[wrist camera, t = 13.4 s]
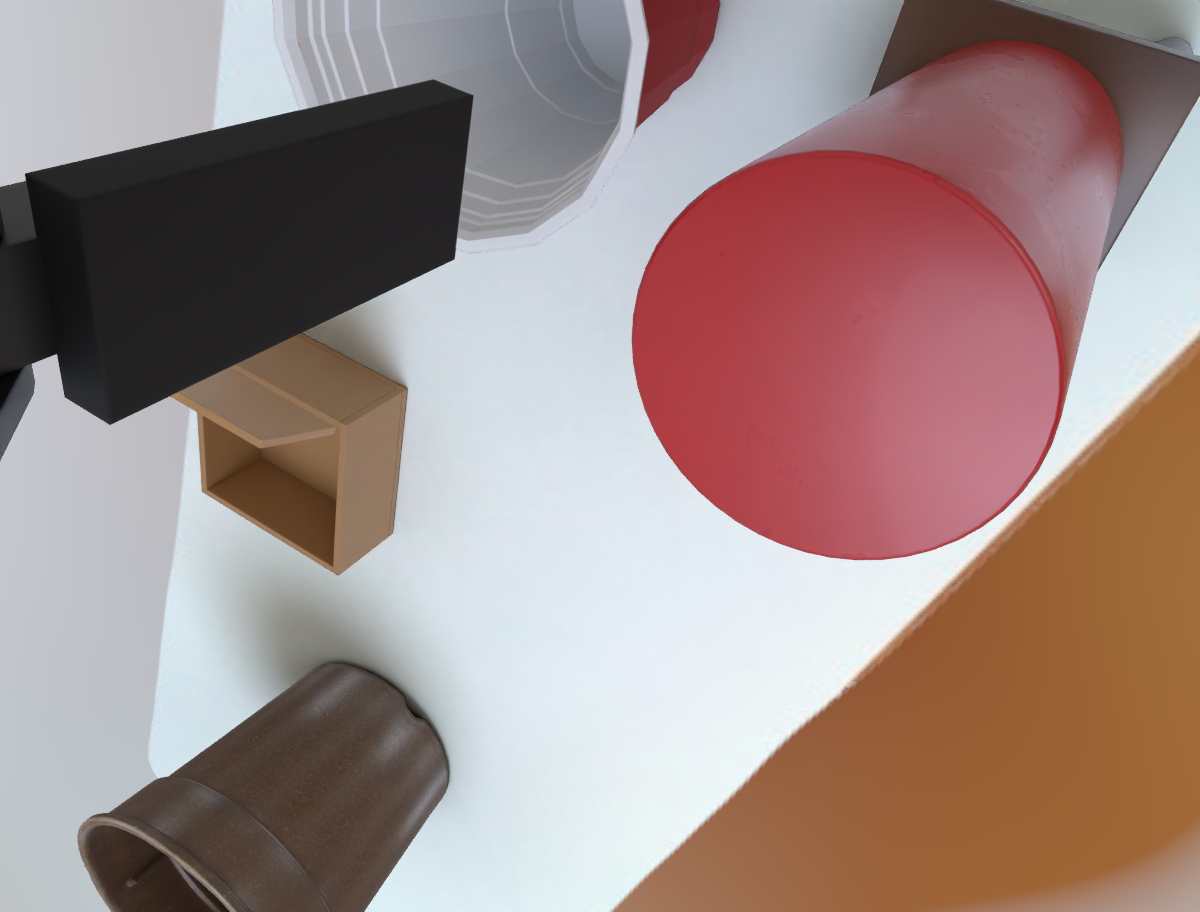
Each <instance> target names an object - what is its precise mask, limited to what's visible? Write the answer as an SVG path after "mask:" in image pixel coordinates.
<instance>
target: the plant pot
mask: <svg viewBox="0 0 1200 912" xmlns="http://www.w3.org/2000/svg"><path fill="white" fill-rule="evenodd" d="M447 786H448V767H447V762H446V759H445V755H444V752H443V750H442V747H441V745H440V743H439V741H438V739H437V737H436V735H435V734H434V732H433V730H432V729H431V727H430V726H429V724H428V723H427V722H426V720H424V719H420V718H416V717H415V716H413V715H412V713H411V712H410V711H409V709H408V708H407V706H406V703H405V698H404V696H403V695H402V694H401V693H400V692H398V691H397V690H396V689H395V688H393V687H392V686H391V685H389V684H388V683H386V682H385V681H383V680H382V679H380V678H378V677H377V676H375V675H373V674H371V673H369V672H367V671H365V670H363V669H360V668H357V667H354V666H351V665H347V664H340V663H329V664H323V665H321V666H319V667H317V668H316V669H314V670H313V671H311V672H309V673H308V674H306V675H305V676H304V677H303V678H301V679H300V680H299V681H298V682H296V683H295V684H294V685H292V686H291V687H290V688H288V689H287V690H286V691H284V692H283V693H281V694H280V695H279V696H277V697H276V698H275V699H273V700H272V701H271V702H269V703H268V704H267V705H265V706H264V707H262V708H261V709H260V710H258V711H257V712H256V713H254V714H253V715H252V716H250V717H249V718H247V719H246V720H245V721H243V722H242V723H241V724H239V725H238V726H237V727H235V728H234V729H233V730H231V731H230V732H229V733H227V734H226V735H225V736H223V737H222V738H221V739H219V740H218V741H216V742H215V743H214V744H212V745H211V746H209V747H208V748H207V749H205V750H204V751H203V752H201V753H200V754H198V755H197V756H196V757H194V758H193V759H192V760H190V761H189V762H188V763H186V764H185V765H183V766H182V767H181V768H179V769H178V770H177V771H175V772H174V773H173V774H171V775H170V776H169V777H163V778H159V779H156V780H155V781H153V782H151V783H150V784H149V785H147V786H146V787H144V788H143V789H142V790H140V791H139V792H137V793H136V794H135V795H133V796H132V797H130V798H129V799H128V800H126V801H125V802H124V803H122V804H121V805H119V806H118V807H116V808H115V809H114V810H112V811H111V812H109V813H102V814H97V815H94V816H92V817H90V818H89V819H87V820H86V821H85V822H83V824H82V825H81V826H80V828H79V831H78V847H79V851H80V855H81V858H82V861H83V862H84V865H85V867H86V869H87V871H88V872H89V874H90V877H91V879H92V881H93V884H94V885H95V887H96V889H97V891H98V893H99V894H100V896H101V897H102V899H103V900H104V902H105V904H106V905H107V906H108V908H109V909H110V910H111V912H364V911H365V910H366V908H367V907H368V905H369V904H370V902H371V901H372V899H373V898H374V896H375V895H376V893H377V892H378V890H379V889H380V888H381V886H382V885H383V883H384V882H385V880H386V879H387V877H388V876H389V874H390V873H391V871H392V870H393V868H394V867H395V865H396V864H397V863H398V861H399V860H400V858H401V857H402V855H403V854H404V852H405V851H406V849H407V848H408V846H409V845H410V843H411V842H412V841H413V839H414V838H415V836H416V835H417V833H418V832H419V830H420V829H421V827H422V826H423V824H424V823H425V821H426V820H427V818H428V817H429V815H430V814H431V813H432V811H433V810H434V808H435V807H436V806H437V804H438V803H439V802H440V801H441V799H442V798H443V796H444V794H445V792H446V789H447Z"/></svg>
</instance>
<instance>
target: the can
mask: <svg viewBox="0 0 1200 912" xmlns="http://www.w3.org/2000/svg"><path fill="white" fill-rule="evenodd" d="M1122 165H1123V141H1122V132H1121V127H1120V124H1119V120H1118V116H1117V113H1116V111H1115V109H1114V106H1113V104H1112V102H1111V100H1110V98H1109V96H1108V95H1107V93H1106V92H1105V90H1104V89H1103V87H1102V85H1101V84H1100V83H1099V82H1098V81H1097V80H1096V78H1095V77H1094V76H1093V75H1092V74H1091V73H1090V72H1089V71H1088V70H1087V69H1085V68H1084V67H1083V66H1082V65H1080V64H1079V63H1078V62H1077V61H1075V60H1074V59H1072V58H1070V57H1068V56H1067V55H1065V54H1063V53H1062V52H1059V51H1057V50H1054V49H1052V48H1049V47H1047V46H1044V45H1039V44H1035V43H1031V42H1025V41H1014V40H1002V41H989V42H983V43H977V44H973V45H970V46H967V47H963V48H960V49H957V50H955V51H953V52H951V53H948V54H946V55H944V56H942V57H940V58H938V59H936V60H934V61H933V62H931V63H929V64H927V65H926V66H924V67H922V68H920V69H918V70H917V71H915V72H913V73H911V74H909V75H908V76H906V77H904V78H902V79H900V80H899V81H897V82H895V83H893V84H891V85H890V86H888V87H886V88H884V89H882V90H881V91H879V92H877V93H875V94H874V95H872V96H870V97H868V98H866V99H865V100H863V101H861V102H859V103H857V104H856V105H854V106H852V107H850V108H848V109H847V110H845V111H843V112H841V113H839V114H838V115H836V116H834V117H832V118H831V119H829V120H827V121H825V122H823V123H822V124H820V125H818V126H816V127H814V128H813V129H811V130H809V131H807V132H805V133H804V134H802V135H800V136H798V137H796V138H795V139H793V140H791V141H789V142H788V143H786V144H784V145H782V146H780V147H779V148H777V149H775V150H773V151H771V152H770V153H768V154H766V155H764V156H762V157H761V158H759V159H757V160H755V161H753V162H752V163H750V164H748V165H746V166H744V167H743V168H741V169H739V170H737V171H736V172H734V173H732V174H730V175H729V176H727V177H725V178H724V179H722V180H721V181H719V182H717V183H716V184H714V185H712V186H711V187H709V188H708V189H707V190H706V191H704V192H703V193H702V194H701V195H699V196H698V197H697V198H696V199H695V200H693V201H692V202H691V203H690V204H689V205H688V206H687V207H686V208H685V209H684V210H683V211H682V212H681V213H680V214H679V216H678V217H677V218H676V219H675V220H674V221H673V222H672V223H671V225H670V226H669V228H668V229H667V230H666V232H665V233H664V235H663V236H662V238H661V239H660V241H659V242H658V244H657V245H656V247H655V249H654V251H653V253H652V256H651V258H650V260H649V262H648V264H647V266H646V268H645V271H644V274H643V277H642V280H641V283H640V286H639V289H638V293H637V299H636V304H635V309H634V314H633V328H632V350H633V364H634V370H635V375H636V380H637V385H638V389H639V392H640V396H641V399H642V402H643V405H644V408H645V411H646V413H647V416H648V418H649V420H650V422H651V425H652V427H653V429H654V431H655V433H656V435H657V437H658V438H659V440H660V442H661V443H662V445H663V447H664V449H665V450H666V452H667V454H668V455H669V456H670V458H671V459H672V460H673V462H674V463H675V464H676V466H677V467H678V469H679V470H680V471H681V473H682V474H683V475H684V476H685V477H686V478H687V479H688V480H689V481H690V482H691V484H692V485H693V486H694V487H695V488H696V489H697V490H698V491H699V492H700V493H701V494H702V495H704V496H705V497H706V498H707V499H708V500H709V501H710V502H711V503H712V504H714V505H715V506H716V507H717V508H719V509H720V510H721V511H723V512H724V513H725V514H727V515H728V516H730V517H731V518H732V519H734V520H735V521H737V522H738V523H740V524H742V525H743V526H745V527H747V528H749V529H750V530H752V531H754V532H756V533H757V534H759V535H762V536H764V537H766V538H768V539H771V540H773V541H775V542H777V543H779V544H782V545H785V546H788V547H791V548H794V549H797V550H800V551H803V552H807V553H812V554H816V555H821V556H826V557H831V558H840V559H850V560H884V559H892V558H900V557H907V556H911V555H915V554H919V553H923V552H927V551H931V550H934V549H937V548H939V547H942V546H944V545H947V544H950V543H952V542H955V541H957V540H959V539H961V538H963V537H965V536H967V535H968V534H970V533H972V532H974V531H976V530H977V529H979V528H981V527H983V526H984V525H985V524H987V523H988V522H989V521H991V520H992V519H993V518H995V517H996V516H997V515H999V514H1000V513H1001V512H1003V511H1004V510H1005V509H1006V508H1007V507H1008V506H1009V505H1010V504H1011V503H1012V502H1013V501H1014V500H1015V499H1016V498H1017V497H1018V496H1019V495H1020V494H1021V493H1022V492H1023V490H1024V489H1025V488H1026V486H1027V485H1028V484H1029V482H1030V481H1031V480H1032V478H1033V477H1034V475H1035V474H1036V473H1037V471H1038V470H1039V468H1040V466H1041V464H1042V463H1043V461H1044V459H1045V457H1046V455H1047V453H1048V451H1049V449H1050V447H1051V445H1052V443H1053V440H1054V437H1055V434H1056V431H1057V428H1058V425H1059V422H1060V419H1061V415H1062V411H1063V407H1064V403H1065V399H1066V395H1067V391H1068V387H1069V383H1070V379H1071V375H1072V371H1073V367H1074V363H1075V359H1076V355H1077V351H1078V347H1079V343H1080V339H1081V335H1082V331H1083V327H1084V323H1085V319H1086V314H1087V310H1088V306H1089V302H1090V298H1091V294H1092V290H1093V286H1094V282H1095V278H1096V274H1097V270H1098V266H1099V262H1100V258H1101V254H1102V250H1103V246H1104V242H1105V238H1106V234H1107V230H1108V226H1109V222H1110V218H1111V214H1112V210H1113V206H1114V202H1115V198H1116V194H1117V189H1118V185H1119V181H1120V176H1121V170H1122Z"/></svg>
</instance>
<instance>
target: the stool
mask: <svg viewBox="0 0 1200 912" xmlns="http://www.w3.org/2000/svg"><path fill="white" fill-rule="evenodd" d="M1002 40H1014V41H1025V42H1031V43H1035V44H1039V45H1044V46H1047V47H1049V48H1052V49H1054V50H1057V51H1059V52H1062V53H1063V54H1065V55H1067V56H1068V57H1070V58H1072V59H1074V60H1075V61H1077V62H1078V63H1079V64H1080V65H1082V66H1083V67H1084V68H1085V69H1087V70H1088V71H1089V72H1090V73H1091V74H1092V75H1093V76H1094V77H1095V78H1096V80H1097V81H1098V82H1099V83H1100V84H1101V85H1102V87H1103V89H1104V90H1105V92H1106V93H1107V95H1108V96H1109V98H1110V100H1111V102H1112V104H1113V106H1114V109H1115V111H1116V113H1117V116H1118V120H1119V124H1120V127H1121V132H1122V141H1123V165H1122V170H1121V176H1120V181H1119V185H1118V189H1117V194H1116V198H1115V202H1114V206H1113V210H1112V214H1111V218H1110V222H1109V226H1108V230H1107V234H1106V238H1105V242H1104V246H1103V250H1102V254H1101V258H1100V262H1099V266H1098V270H1099V268H1100V267H1101V265H1102V263H1103V261H1104V260H1105V258H1106V256H1107V255H1108V253H1109V251H1110V249H1111V248H1112V246H1113V244H1114V243H1115V241H1116V239H1117V237H1118V236H1119V234H1120V232H1121V230H1122V229H1123V227H1124V225H1125V224H1126V222H1127V220H1128V218H1129V217H1130V215H1131V213H1132V211H1133V210H1134V208H1135V206H1136V205H1137V203H1138V201H1139V199H1140V198H1141V196H1142V194H1143V193H1144V191H1145V189H1146V187H1147V186H1148V184H1149V182H1150V180H1151V179H1152V177H1153V175H1154V174H1155V172H1156V170H1157V168H1158V167H1159V165H1160V163H1161V161H1162V160H1163V158H1164V156H1165V155H1166V153H1167V151H1168V149H1169V148H1170V146H1171V144H1172V142H1173V141H1174V139H1175V137H1176V136H1177V134H1178V132H1179V130H1180V129H1181V127H1182V125H1183V124H1184V122H1185V120H1186V118H1187V117H1188V115H1189V113H1190V111H1191V110H1192V108H1193V106H1194V105H1195V103H1196V101H1197V99H1198V98H1199V96H1200V56H1197V55H1193V52H1192V48H1191V46H1190V45H1189V43H1188V42H1186V41H1185V40H1183V39H1181V38H1175V37H1174V38H1167V39H1164V40H1162V41H1160V42H1158V43H1154V42H1150V41H1147V40H1144V39H1141V38H1137V37H1134V36H1131V35H1127V34H1124V33H1121V32H1117V31H1114V30H1111V29H1107V28H1104V27H1101V26H1098V25H1094V24H1091V23H1088V22H1084V21H1081V20H1078V19H1074V18H1071V17H1068V16H1064V15H1061V14H1058V13H1055V12H1051V11H1048V10H1045V9H1041V8H1038V7H1035V6H1031V5H1028V4H1025V3H1021V2H1018V1H1015V0H905V1H904V4H903V6H902V9H901V12H900V14H899V17H898V20H897V23H896V25H895V28H894V31H893V33H892V36H891V39H890V41H889V44H888V47H887V49H886V52H885V55H884V57H883V60H882V63H881V65H880V68H879V71H878V74H877V76H876V79H875V82H874V84H873V87H872V90H871V92H870V95H869V97H870V96H872V95H874V94H875V93H877V92H879V91H881V90H882V89H884V88H886V87H888V86H890V85H891V84H893V83H895V82H897V81H899V80H900V79H902V78H904V77H906V76H908V75H909V74H911V73H913V72H915V71H917V70H918V69H920V68H922V67H924V66H926V65H927V64H929V63H931V62H933V61H934V60H936V59H938V58H940V57H942V56H944V55H946V54H948V53H951V52H953V51H955V50H957V49H960V48H963V47H967V46H970V45H973V44H977V43H983V42H989V41H1002ZM1098 270H1097V272H1098Z"/></svg>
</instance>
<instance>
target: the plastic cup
mask: <svg viewBox="0 0 1200 912" xmlns="http://www.w3.org/2000/svg"><path fill="white" fill-rule="evenodd" d="M272 4H273V19H274V35H275V42H276V44H277V47H278V50H279V53H280V56H281V59H282V62H283V65H284V67H285V70H286V73H287V76H288V79H289V82H290V85H291V88H292V91H293V93H294V96H295V99H296V102H297V105H298V108H299V110H303V109H307V108H311V107H316V106H320V105H324V104H329V103H333V102H337V101H342V100H346V99H350V98H355V97H359V96H363V95H368V94H372V93H376V92H381V91H385V90H389V89H394V88H398V87H402V86H406V85H411V84H415V83H419V82H424V81H428V80H432V79H434V80H437V81H439V82H442V83H444V84H447V85H449V86H452V87H454V88H457V89H459V90H462V91H464V92H467V93H469V94H472V95H474V98H473V106H472V115H471V123H470V132H469V140H468V149H467V157H466V166H465V174H464V183H463V192H462V200H461V209H460V217H459V226H458V234H457V243H456V249H459V250H462V251H465V252H468V253H476V252H484V251H493V250H501V249H510V248H518V247H527V246H535V245H536V244H538V243H539V242H541V241H542V240H544V239H545V238H547V237H548V236H550V235H551V234H552V233H554V232H555V231H557V230H558V229H560V228H561V227H563V226H564V225H566V224H567V223H569V222H570V221H572V220H573V219H575V218H576V217H578V216H579V215H581V214H582V213H584V212H585V211H587V210H588V209H589V208H591V207H592V206H593V204H594V203H595V201H596V199H597V198H598V196H599V194H600V193H601V191H602V189H603V188H604V186H605V184H606V182H607V181H608V179H609V177H610V176H611V174H612V172H613V171H614V169H615V167H616V165H617V164H618V162H619V160H620V159H621V157H622V155H623V154H624V152H625V150H626V148H627V147H628V145H629V143H630V142H631V140H632V138H633V136H634V134H635V131H636V128H637V127H638V126H639V125H640V124H642V123H643V122H644V121H645V120H646V119H647V118H648V117H649V116H650V115H652V114H653V113H654V112H655V111H656V110H657V109H658V108H659V107H660V106H661V105H663V104H664V103H665V102H666V101H667V100H668V98H669V97H670V95H671V93H672V92H673V91H674V90H676V89H677V88H678V87H679V86H681V85H682V84H683V83H684V82H686V81H687V80H688V79H689V78H691V77H692V75H693V74H694V72H695V70H696V69H697V67H698V65H699V64H700V62H701V60H702V59H703V57H704V55H705V54H706V52H707V50H708V49H709V47H710V45H711V43H712V41H713V37H714V32H715V27H716V22H717V17H718V12H719V7H720V3H719V0H272Z"/></svg>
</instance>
